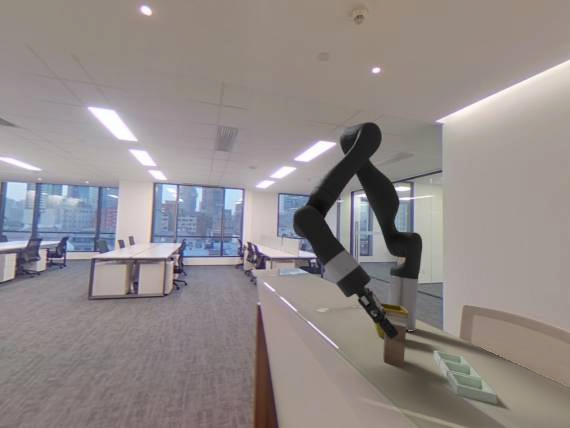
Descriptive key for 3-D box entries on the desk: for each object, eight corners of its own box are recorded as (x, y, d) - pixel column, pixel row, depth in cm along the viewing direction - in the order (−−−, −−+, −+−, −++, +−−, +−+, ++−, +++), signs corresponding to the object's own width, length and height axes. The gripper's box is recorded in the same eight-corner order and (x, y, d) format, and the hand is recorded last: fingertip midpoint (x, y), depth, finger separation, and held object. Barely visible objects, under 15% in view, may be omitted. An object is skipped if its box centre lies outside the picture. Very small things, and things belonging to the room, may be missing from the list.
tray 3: (447, 382, 54) (448, 371, 54) (482, 390, 52) (483, 379, 52) (456, 397, 48) (457, 385, 48) (496, 407, 46) (496, 394, 46)
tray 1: (433, 358, 66) (433, 350, 66) (461, 365, 64) (461, 356, 64) (439, 368, 60) (439, 359, 60) (470, 375, 58) (470, 365, 59)
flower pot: (407, 345, 74) (409, 312, 75) (374, 339, 76) (376, 307, 77) (400, 336, 82) (402, 306, 83) (370, 330, 84) (372, 301, 85)
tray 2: (439, 369, 60) (440, 359, 60) (471, 376, 58) (471, 366, 58) (446, 381, 54) (447, 370, 54) (481, 389, 52) (482, 378, 52)
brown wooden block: (382, 355, 63) (386, 312, 64) (401, 360, 61) (404, 315, 63) (383, 362, 59) (387, 315, 60) (403, 366, 58) (406, 319, 59)
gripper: (357, 264, 59) (411, 329, 54) (359, 262, 72) (402, 315, 67) (331, 285, 60) (381, 350, 55) (338, 279, 73) (379, 332, 68)
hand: (393, 331), depth 61 cm, fingers open, 8 cm apart
